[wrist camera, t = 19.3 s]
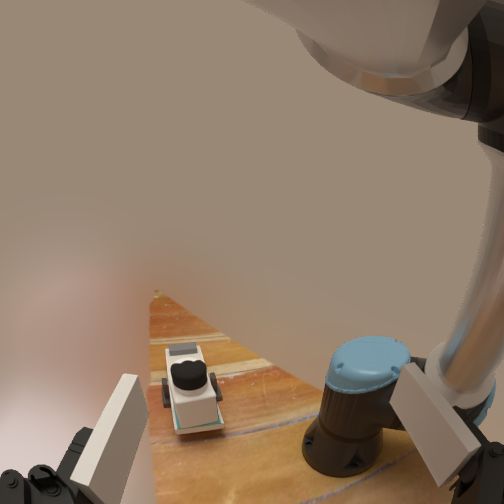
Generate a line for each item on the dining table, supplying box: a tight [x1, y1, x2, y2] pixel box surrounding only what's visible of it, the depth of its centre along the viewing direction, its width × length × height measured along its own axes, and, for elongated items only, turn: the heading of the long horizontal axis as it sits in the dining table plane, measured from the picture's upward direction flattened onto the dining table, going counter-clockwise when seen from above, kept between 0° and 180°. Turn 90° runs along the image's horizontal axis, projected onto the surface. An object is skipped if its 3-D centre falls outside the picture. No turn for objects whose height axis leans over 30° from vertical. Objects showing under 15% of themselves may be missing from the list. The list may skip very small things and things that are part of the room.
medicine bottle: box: [168, 357, 219, 428], centre depth 43 cm, size 7×7×12 cm
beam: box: [165, 342, 224, 434], centre depth 54 cm, size 28×9×3 cm, turn 18°
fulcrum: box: [162, 373, 222, 408], centre depth 55 cm, size 6×13×5 cm, turn 108°
